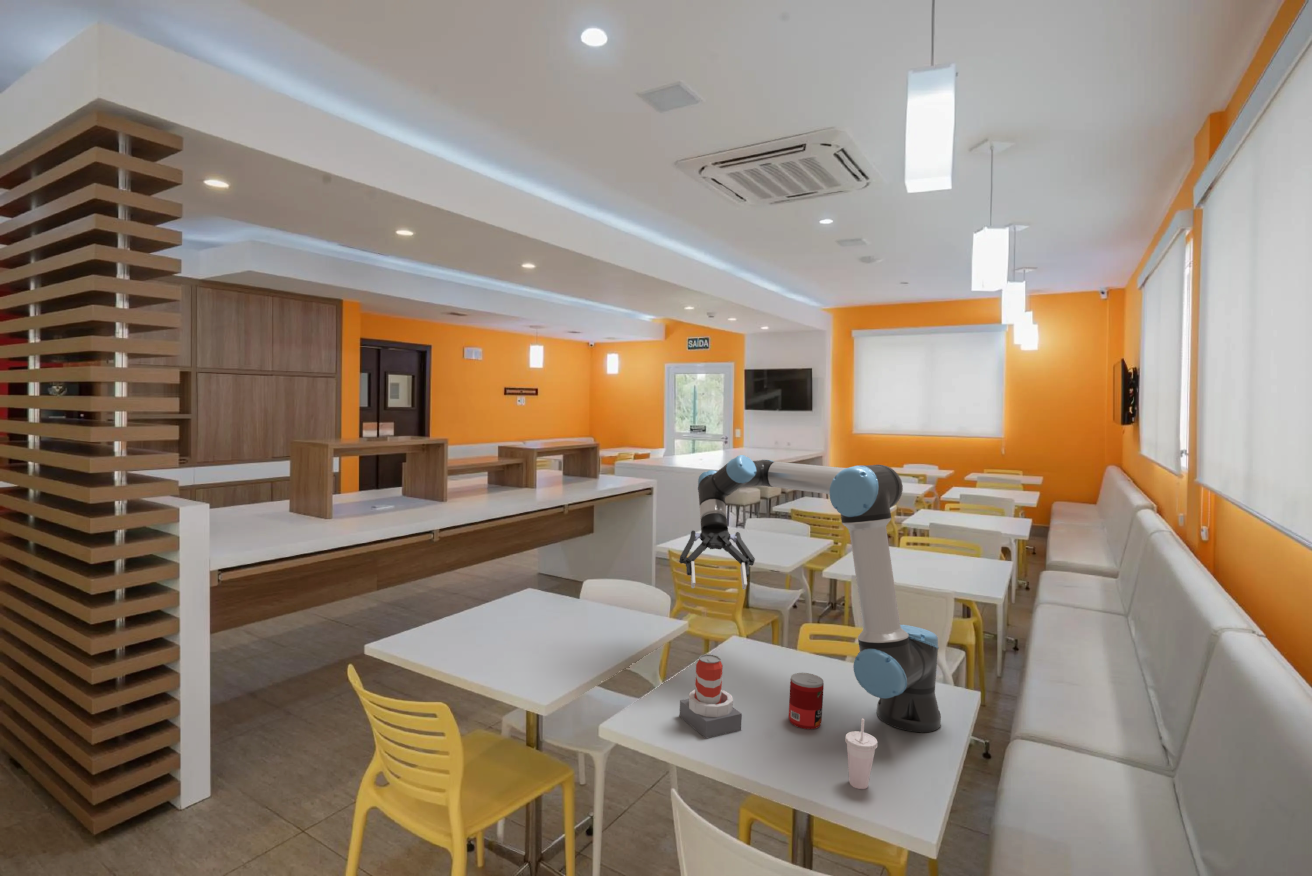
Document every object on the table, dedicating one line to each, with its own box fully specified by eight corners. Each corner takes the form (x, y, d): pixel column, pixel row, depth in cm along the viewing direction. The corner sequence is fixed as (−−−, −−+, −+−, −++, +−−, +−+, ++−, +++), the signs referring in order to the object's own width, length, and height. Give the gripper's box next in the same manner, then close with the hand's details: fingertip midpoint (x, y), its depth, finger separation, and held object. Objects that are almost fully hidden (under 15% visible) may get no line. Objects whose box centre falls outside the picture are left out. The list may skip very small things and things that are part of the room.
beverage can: (700, 714, 160) (702, 664, 159) (691, 702, 166) (693, 654, 165) (724, 711, 162) (726, 662, 161) (714, 700, 168) (716, 652, 167)
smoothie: (844, 790, 137) (848, 723, 137) (841, 773, 144) (844, 709, 143) (877, 794, 136) (881, 727, 136) (872, 777, 143) (876, 712, 142)
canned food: (822, 731, 162) (824, 686, 161) (788, 727, 164) (790, 682, 163) (820, 717, 170) (823, 674, 169) (788, 713, 171) (790, 670, 171)
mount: (741, 730, 161) (743, 703, 161) (704, 738, 156) (706, 711, 156) (714, 709, 172) (715, 683, 171) (678, 716, 167) (679, 690, 166)
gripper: (754, 528, 195) (763, 594, 181) (668, 525, 193) (670, 592, 179) (759, 513, 189) (769, 580, 175) (670, 510, 188) (673, 577, 174)
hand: (719, 586), depth 177 cm, fingers open, 13 cm apart
